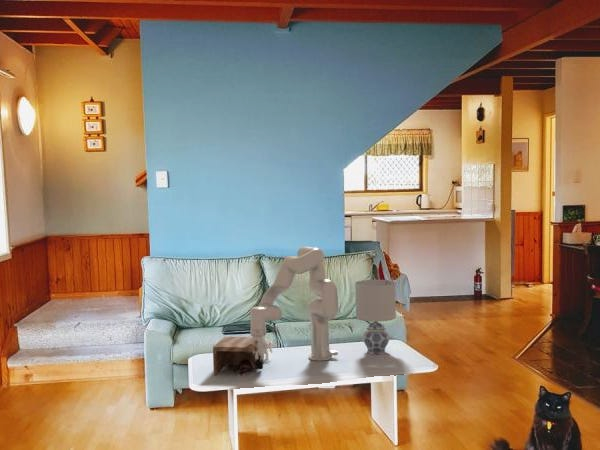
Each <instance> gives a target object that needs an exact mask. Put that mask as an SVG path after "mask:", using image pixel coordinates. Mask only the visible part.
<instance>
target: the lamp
mask: <svg viewBox="0 0 600 450" xmlns="http://www.w3.org/2000/svg"><path fill="white" fill-rule="evenodd" d="M354 285H355V287H354V288H355V296H354V297H355V318H356V319H357V320H360V321H365V322H371V323H369V324H368V327H366V331H365V332H364V334H363V336H362V339H363V343H364V345H365V347H366V350H367V351H366V352H367V354H370V355H383V354H385V353H386V348H387V346H388V344H389V342H390V335H389V333H388V332H387V331H386V328H385V326H384V325H383V324H382V323H381V322H388V321H392V320H396V317H397V316H396V314H397V310H396V309H397V308H396V307H397V306H396V305H397V303H396V300H397V298H396V297H397V296H396V295H397V293H396V282H395V281H394V280H388V279H364V280H358V281H355V283H354Z"/></svg>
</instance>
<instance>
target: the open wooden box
mask: <svg viewBox="0 0 600 450" xmlns="http://www.w3.org/2000/svg"><path fill="white" fill-rule="evenodd" d="M252 340H253V336H223V337H222V338H221V339H220V340H219V341H218V342H217V343H216V344H214V345H213V346H212V358H213V359H212V360H213V376H218V375H219V374H220V373H221V371H222V370H223V369H225V367H226V366H228V365H237V366H238V364H239V363H240V362H241V361H242V360H244V359H248V360H251V361H252V363H253V364H254V366H256V359H255V356H253V352H254V351H255V349H256V348H255V345H253V341H252Z"/></svg>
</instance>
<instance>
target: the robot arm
mask: <svg viewBox="0 0 600 450" xmlns="http://www.w3.org/2000/svg"><path fill="white" fill-rule="evenodd" d="M296 254H297V256H293V255H288V256H285V257H284V258H283V260H282V262H281V265H280V266H279V268H278V272H277V274H276V277H275V279H274V281H273V283H272V284H271V285H270V286H269V288H267V290H266V291H265V292H264V293H263V295H262V297H261V299H260V302H259V305H258V306H252V307H251V308H250V310H249V311H250V312H249V313H250V337H253V340H252V341H253V345H255V348H256V349H255V351H254V352H253V356H255V359H256V365H255V369H256V370H263V368H264V360H263V355H264V356H265V355H266V354H265V353H266V340H267V339H265V338H266V336H267V322H269V321H270V322H274V321H278V320H279V319H281V317H282V316H283V311H282V308H280V307H279V306H278V305H275V303H274V302H275V301H276V299H277V298H278V297H279V296H281V294H284V293H285V292H287V291H289V290H290V289H291V286H292V283H293V281H294V278H295V277H296V275H302V274H304V273H306V272H308V275H309V289H310V290H309V291H310V293H311V294H312V295H313V296H315V297H316V298H313V299H311V301H310V302H309V304H308V312H309V318H310V339H311V340H310V342H311V343H310V345H311V346H310V347H311V350H310V351H311V353H310V354H308V359H310V360H312V361H316V362H317V361H318V362H322V361H329V360H332V358H333V356H339V352H338V350H337V351H336V350H332V349H331V347H330V325H329V320H332V319H335V318H336V316H337V315H338V312H339V299H338V298H339V297H338V288H337V285H336V284H335V281H333V280H331V279H328V278H327V277H326V268H325V264H324V263H323V261H324V260H325V253H324V252H323V250H322V249H320V248H318V247H311V246H301V247H300V248H298V249H297V253H296Z"/></svg>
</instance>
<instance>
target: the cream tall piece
mask: <svg viewBox="0 0 600 450" xmlns="http://www.w3.org/2000/svg"><path fill="white" fill-rule="evenodd" d="M269 338H270V336H269V335H268V336H267V337H266V336H265V339H266V353H265V354H264V355H263V361H265V360H269V359H270V358H269V352H270V353H271V354H272V353H273V349H272V347H273V346H274V343H273V341H269V340H268V339H269ZM268 349H269V351H268Z"/></svg>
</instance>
